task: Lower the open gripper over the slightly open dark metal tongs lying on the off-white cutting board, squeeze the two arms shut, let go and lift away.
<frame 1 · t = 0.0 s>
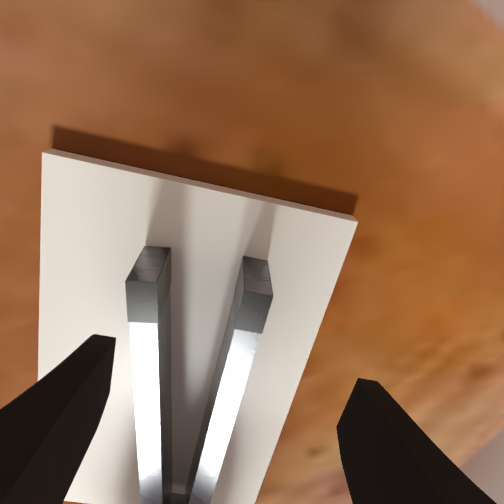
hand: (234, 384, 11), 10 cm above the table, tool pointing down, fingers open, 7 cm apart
cutting board: (172, 370, 24), on the table
tongs base: (180, 477, 28), resting on cutting board
tongs arm: (155, 410, 21), point 3 cm above the table, hinge at 9.0°
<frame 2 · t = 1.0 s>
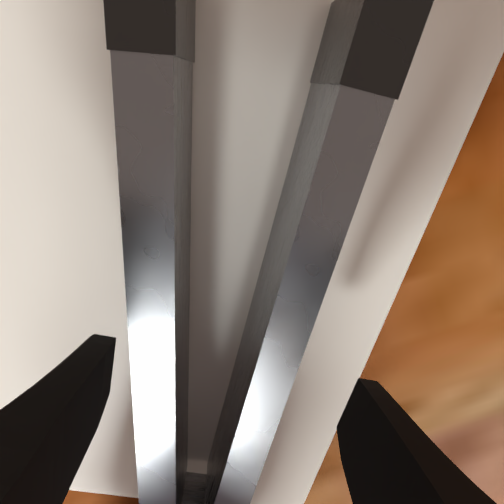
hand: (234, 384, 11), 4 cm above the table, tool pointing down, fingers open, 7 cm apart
cutting board: (191, 265, 15), on the table
tongs base: (198, 449, 18), resting on cutting board
tongs arm: (163, 312, 12), point 3 cm above the table, hinge at 9.0°
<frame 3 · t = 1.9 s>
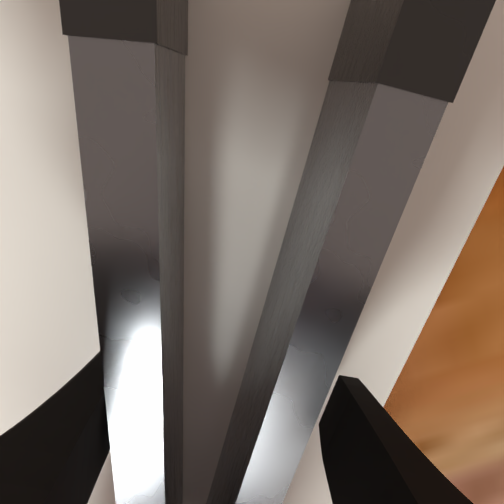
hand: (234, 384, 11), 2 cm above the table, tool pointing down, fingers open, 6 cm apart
cutting board: (185, 291, 13), on the table
tongs base: (195, 489, 17), resting on cutting board
tongs arm: (151, 355, 10), point 3 cm above the table, hinge at 9.0°, touching gripper
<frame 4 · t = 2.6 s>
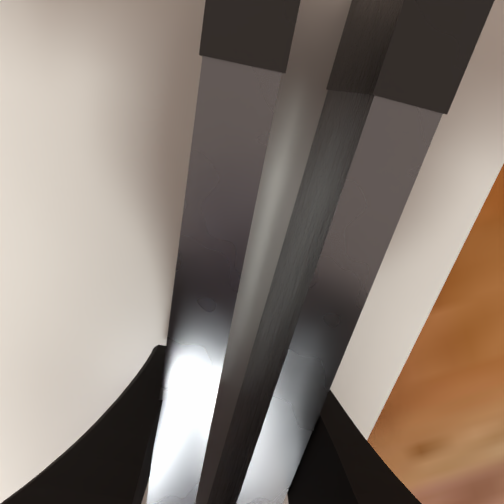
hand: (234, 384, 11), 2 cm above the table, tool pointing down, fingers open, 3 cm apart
cutting board: (186, 295, 13), on the table
tongs base: (195, 492, 17), resting on cutting board
tongs arm: (194, 359, 10), point 3 cm above the table, hinge at 2.6°, touching gripper
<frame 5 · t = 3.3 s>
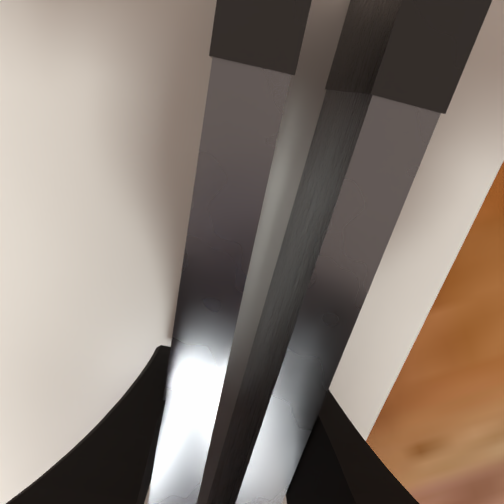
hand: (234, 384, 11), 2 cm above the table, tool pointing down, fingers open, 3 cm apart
cutting board: (185, 295, 13), on the table
tongs base: (195, 492, 17), resting on cutting board
tongs arm: (196, 359, 10), point 3 cm above the table, hinge at 2.0°, touching gripper
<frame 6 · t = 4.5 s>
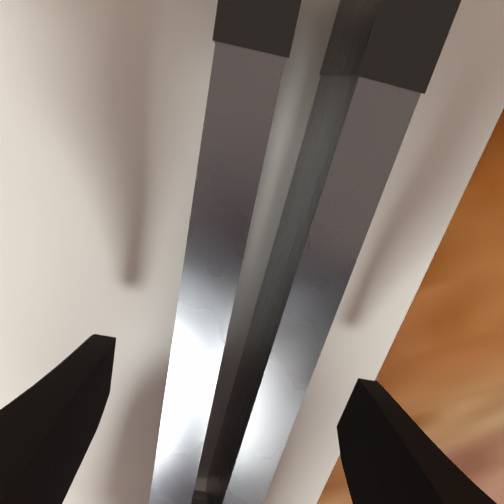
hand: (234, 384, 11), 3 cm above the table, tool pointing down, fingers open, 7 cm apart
cutting board: (188, 273, 13), on the table
tongs base: (197, 464, 18), resting on cutting board
tongs arm: (200, 328, 11), point 3 cm above the table, hinge at 2.0°
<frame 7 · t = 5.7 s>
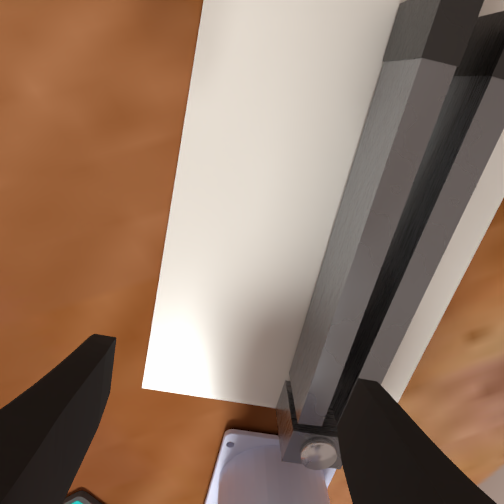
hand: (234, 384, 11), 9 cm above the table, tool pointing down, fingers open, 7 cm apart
cutting board: (327, 214, 19), on the table
tongs base: (310, 368, 23), resting on cutting board
tongs arm: (356, 241, 17), point 3 cm above the table, hinge at 2.0°
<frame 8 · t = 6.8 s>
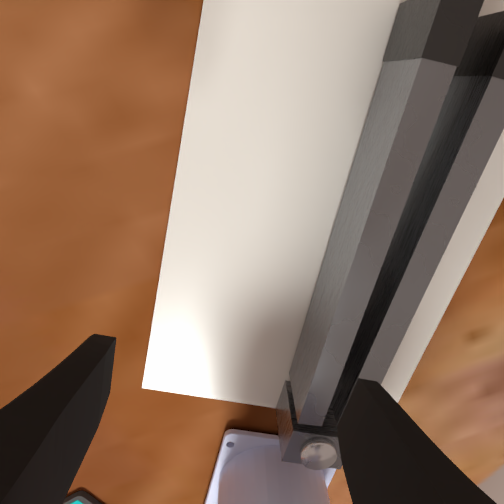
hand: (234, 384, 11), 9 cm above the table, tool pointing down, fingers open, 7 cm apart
cutting board: (327, 214, 19), on the table
tongs base: (310, 368, 23), resting on cutting board
tongs arm: (356, 241, 17), point 3 cm above the table, hinge at 2.0°
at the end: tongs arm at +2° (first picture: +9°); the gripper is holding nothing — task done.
